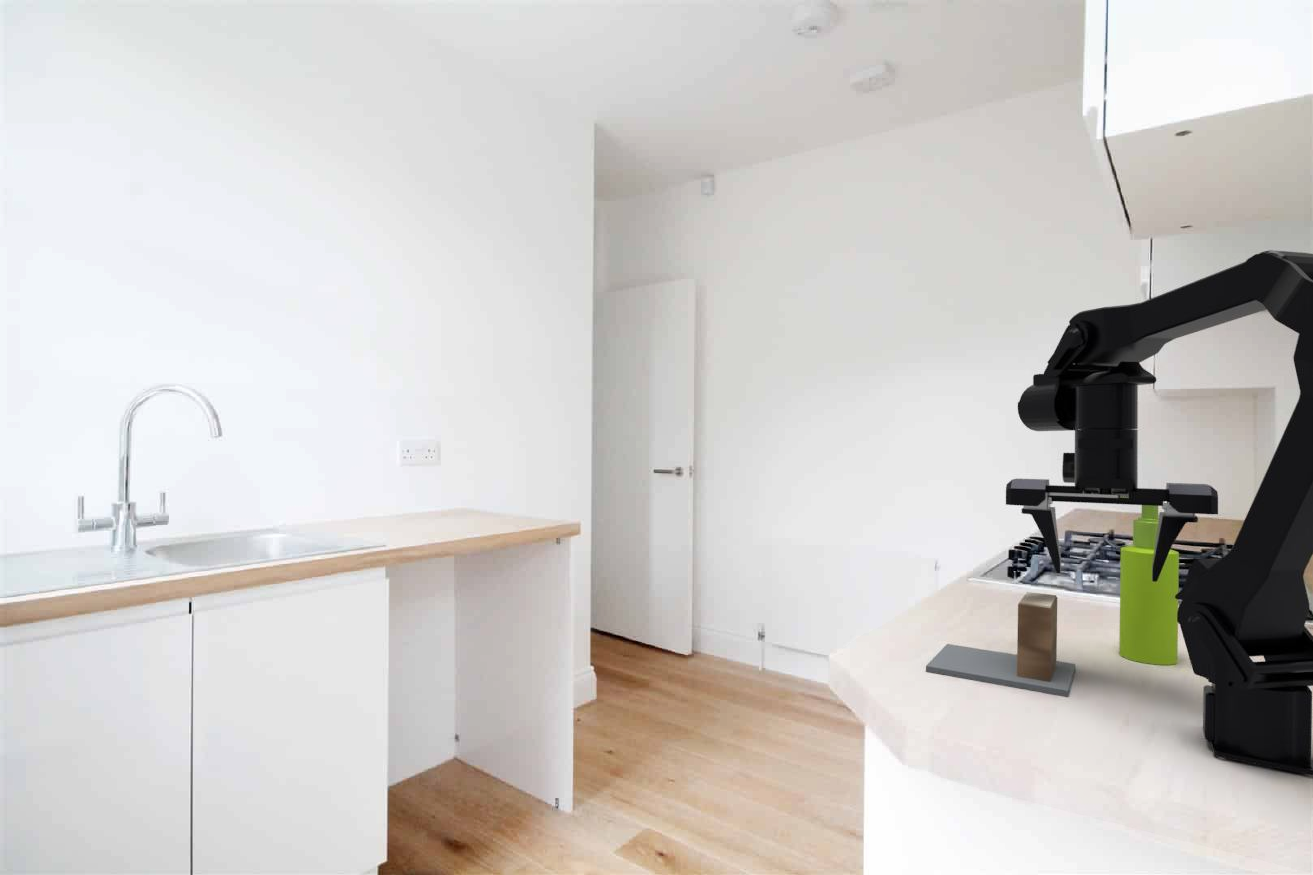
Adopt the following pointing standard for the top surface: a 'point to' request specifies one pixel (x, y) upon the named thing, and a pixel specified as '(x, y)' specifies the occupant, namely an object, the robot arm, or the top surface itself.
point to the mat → (997, 669)
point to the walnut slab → (1037, 636)
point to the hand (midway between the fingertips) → (1105, 576)
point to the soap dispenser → (1148, 597)
